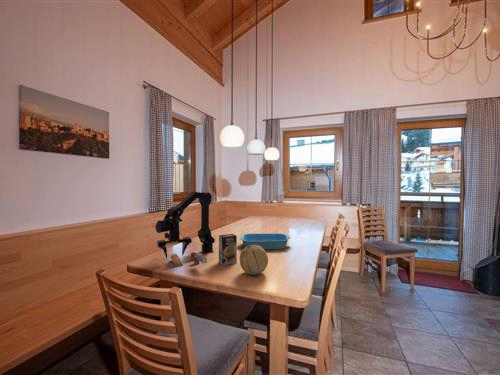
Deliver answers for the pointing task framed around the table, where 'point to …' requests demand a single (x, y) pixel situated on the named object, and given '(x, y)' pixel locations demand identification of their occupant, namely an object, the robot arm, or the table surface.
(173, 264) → the mat
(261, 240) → the casserole dish
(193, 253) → the clamp blocks
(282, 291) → the table surface
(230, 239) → the coffee box
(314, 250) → the table surface
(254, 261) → the cantaloupe
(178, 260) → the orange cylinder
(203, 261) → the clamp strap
